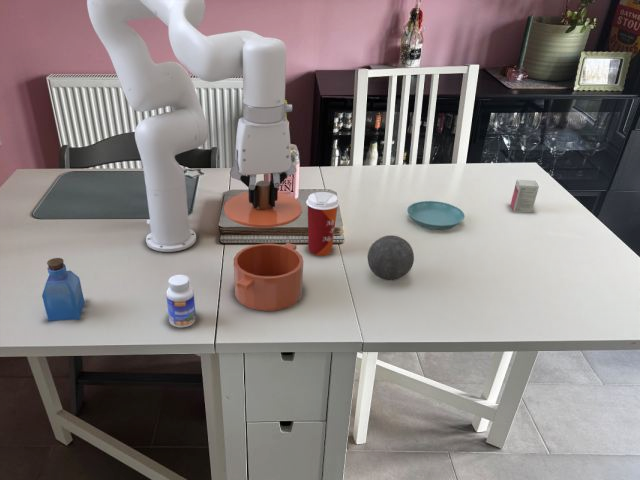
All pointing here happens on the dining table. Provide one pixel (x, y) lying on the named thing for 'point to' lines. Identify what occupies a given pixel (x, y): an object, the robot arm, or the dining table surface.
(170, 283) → the pill bottle
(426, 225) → the saucer
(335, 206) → the paper cup
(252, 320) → the dining table surface
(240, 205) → the lid
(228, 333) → the dining table surface
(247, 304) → the orange cooking pot
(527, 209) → the small box
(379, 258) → the decorative ball
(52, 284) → the perfume bottle
